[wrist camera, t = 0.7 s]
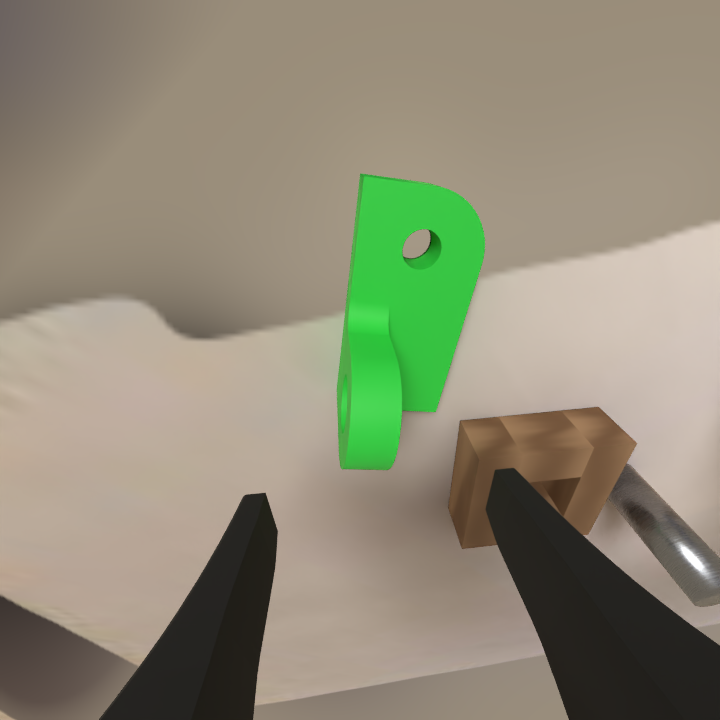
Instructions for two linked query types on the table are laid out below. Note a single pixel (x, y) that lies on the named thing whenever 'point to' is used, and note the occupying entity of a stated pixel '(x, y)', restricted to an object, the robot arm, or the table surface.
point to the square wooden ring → (538, 465)
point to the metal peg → (668, 538)
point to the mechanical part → (401, 311)
